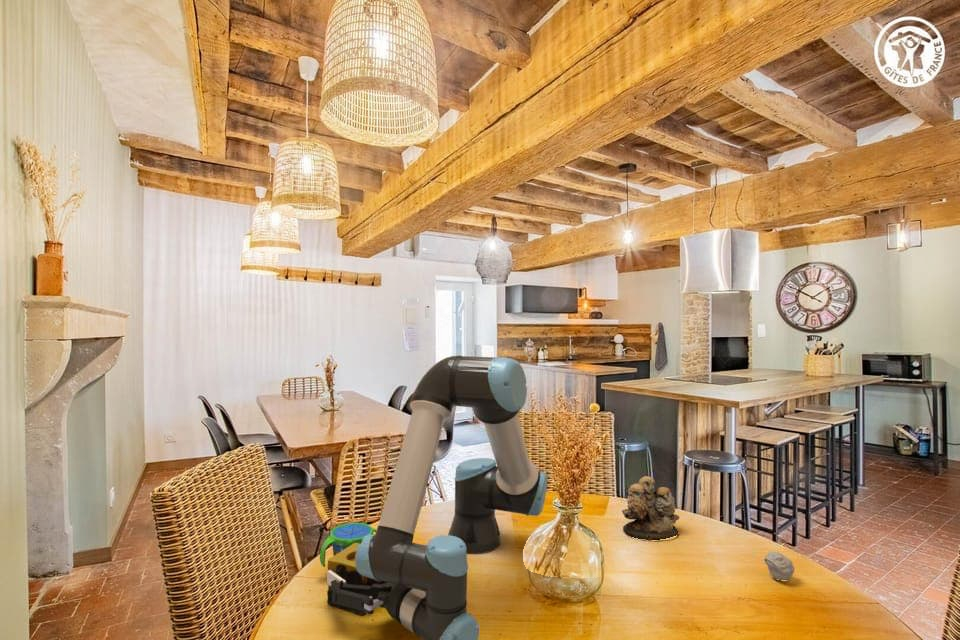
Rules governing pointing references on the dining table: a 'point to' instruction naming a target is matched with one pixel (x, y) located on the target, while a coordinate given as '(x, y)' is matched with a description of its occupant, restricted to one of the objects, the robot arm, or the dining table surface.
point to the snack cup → (345, 537)
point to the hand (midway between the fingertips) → (354, 566)
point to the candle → (348, 573)
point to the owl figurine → (650, 511)
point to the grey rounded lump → (779, 566)
